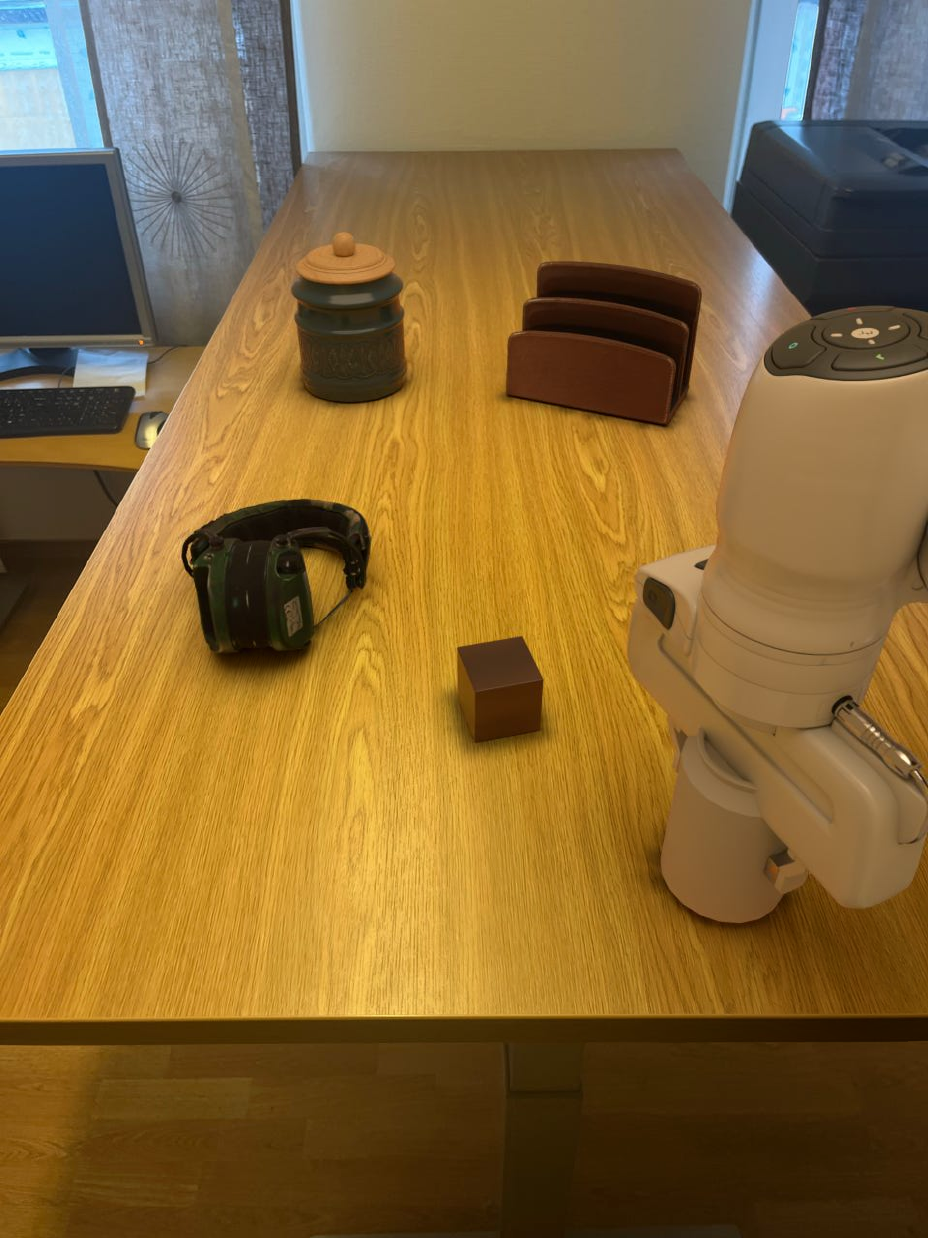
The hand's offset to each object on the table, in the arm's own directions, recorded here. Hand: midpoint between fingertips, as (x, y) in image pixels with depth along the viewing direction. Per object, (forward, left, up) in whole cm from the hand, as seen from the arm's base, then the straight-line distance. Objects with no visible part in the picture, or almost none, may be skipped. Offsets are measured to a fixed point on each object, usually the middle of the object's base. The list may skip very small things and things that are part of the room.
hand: (733, 823), depth 55 cm
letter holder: (+63, -29, -5) cm, 70 cm away
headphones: (+39, +17, -5) cm, 43 cm away
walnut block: (+19, +6, -5) cm, 21 cm away
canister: (+79, -4, -5) cm, 79 cm away
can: (0, 0, -5) cm, 5 cm away
